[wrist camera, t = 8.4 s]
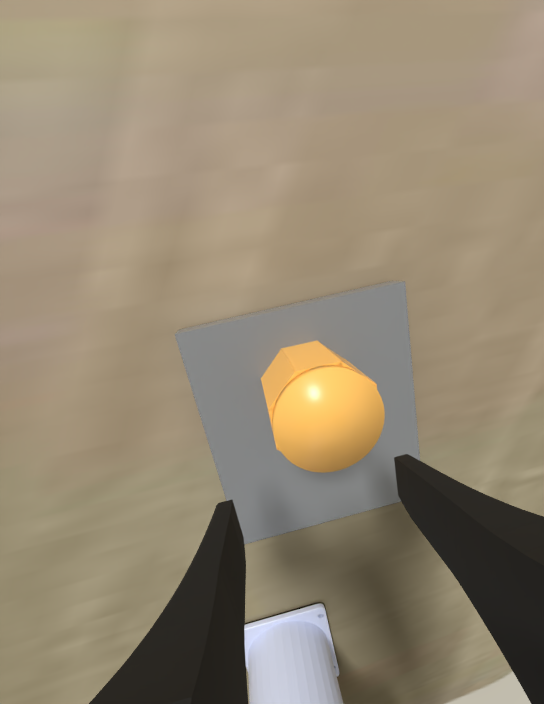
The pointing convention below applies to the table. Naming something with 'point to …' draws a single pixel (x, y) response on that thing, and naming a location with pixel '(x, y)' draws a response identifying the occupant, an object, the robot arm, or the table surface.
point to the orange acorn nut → (321, 408)
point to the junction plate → (253, 418)
